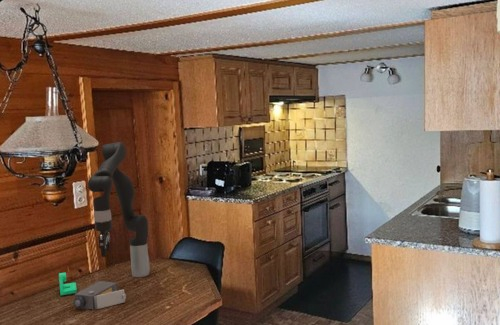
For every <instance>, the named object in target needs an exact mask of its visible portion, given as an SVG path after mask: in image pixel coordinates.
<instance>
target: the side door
mask: <svg viewBox="0 0 500 325" xmlns="http://www.w3.org/2000/svg"><path fill="white" fill-rule="evenodd" d="M126 299H127V295H126V293H125V289H119V290H118V289H117V291H114V292H110V293H106V294H102V295H98V296H94V304H95V310H94V311H96V310H99V309H103V308H108V307H111V306H116V305H119V304H122V303H126Z"/></svg>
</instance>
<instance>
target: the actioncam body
mask: <svg viewBox="0 0 500 325" xmlns="http://www.w3.org/2000/svg"><path fill="white" fill-rule="evenodd" d="M114 291H118V283H117V282H111V281H102V280H99V281H97V282H95V283H93V284H91V285H89V286H88V287H86V288H84V289H82V290H80V291H77V293H74V299H73V305H74V306H75V308H76V309H80V308H83V309H82V310H88V309H92V310H91V311H95V310H94V309H95V304H94V296H98V295H102V294H106V293H110V292H114Z"/></svg>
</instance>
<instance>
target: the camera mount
mask: <svg viewBox="0 0 500 325" xmlns="http://www.w3.org/2000/svg"><path fill="white" fill-rule="evenodd" d="M58 280H59V292H60V295H59V296H65V295H72V294H76V293H78V291H77V290H78V289H77V283H76V282H70V283H64V282H67V273H66V272H59V273H58Z"/></svg>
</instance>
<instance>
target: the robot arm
mask: <svg viewBox="0 0 500 325" xmlns="http://www.w3.org/2000/svg"><path fill="white" fill-rule="evenodd" d="M101 153H102V157H103V160H104V162H102V163H101V165H100V166H99V168H98V170H97V171H95V172H94V173H93V174H92V175H91V176H90V177H89V179H88V181H87V188H88V191H90V192H92V193H99V192H101V193H102V192H103V195H100V196H96V197H95V198H93V211H94V212H93V216H94V217H93V219H94V220H93V222H94V230H95V231H97V232H99V234H98V236H97V238H98V248H99V250H100V256H101V257H102V258H104V257H107V252H110V251H111V247H110V242H111V232H110V231H111V230H112V229H113V221H112V212H111V206H110V205H111V203H110V202H111V201H110V199H111V192H112V189H113V188H112V187H114V190H115V194H116V196H117V199H118V202H119V205H120V208H121V212H122V217H123V221H124V226H125V228H126V229H127V230H128V232H133V233H135V237H131V238H130V239H129V252H130V268H131V276H132V277H133V278H143V277H146V276H149V274H150V270H151V269H150V256H149V253H148V251H149V250H148V237H149V223H148V222H149V221H148V219H147V217H146V215H143V214H136V213H135V212H134V209H133V208H134V207H133V201H134V199H135V195H136V194H135V193H136V192H135V188H134V184H133V182H132V180H131V178H130V177H129V176H128V175H127V174H126V173H124V172H123V171H122V170H121V169H120V168H119V166H120V164H121V163H122V162H123V161H124V160H125V158H126V155H127V149H126V146H125V144H124V143H123V142H120V141H119V142H118V141H116V142H112V143H105V144H103V145H102V147H101ZM127 230H126V231H127Z"/></svg>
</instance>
